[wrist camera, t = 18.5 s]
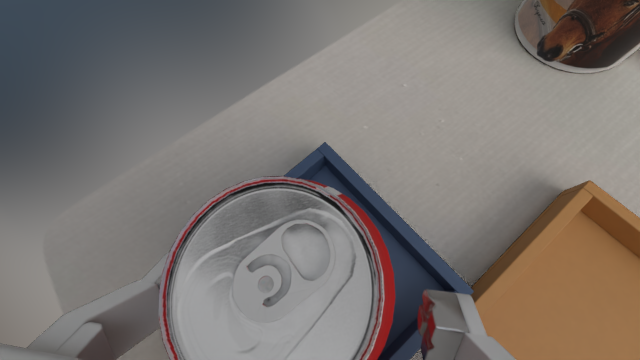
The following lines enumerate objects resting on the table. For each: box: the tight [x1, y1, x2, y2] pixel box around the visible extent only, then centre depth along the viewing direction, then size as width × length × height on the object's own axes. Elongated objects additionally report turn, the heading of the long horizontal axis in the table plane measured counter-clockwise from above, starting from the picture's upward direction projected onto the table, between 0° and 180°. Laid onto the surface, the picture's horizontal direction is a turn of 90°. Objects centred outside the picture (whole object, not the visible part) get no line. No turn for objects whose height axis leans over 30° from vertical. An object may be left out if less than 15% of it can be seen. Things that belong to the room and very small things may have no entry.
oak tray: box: [470, 181, 640, 360], centre depth 18 cm, size 14×14×2 cm
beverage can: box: [159, 176, 395, 360], centre depth 13 cm, size 6×6×15 cm
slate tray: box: [284, 142, 474, 360], centre depth 20 cm, size 14×14×2 cm
